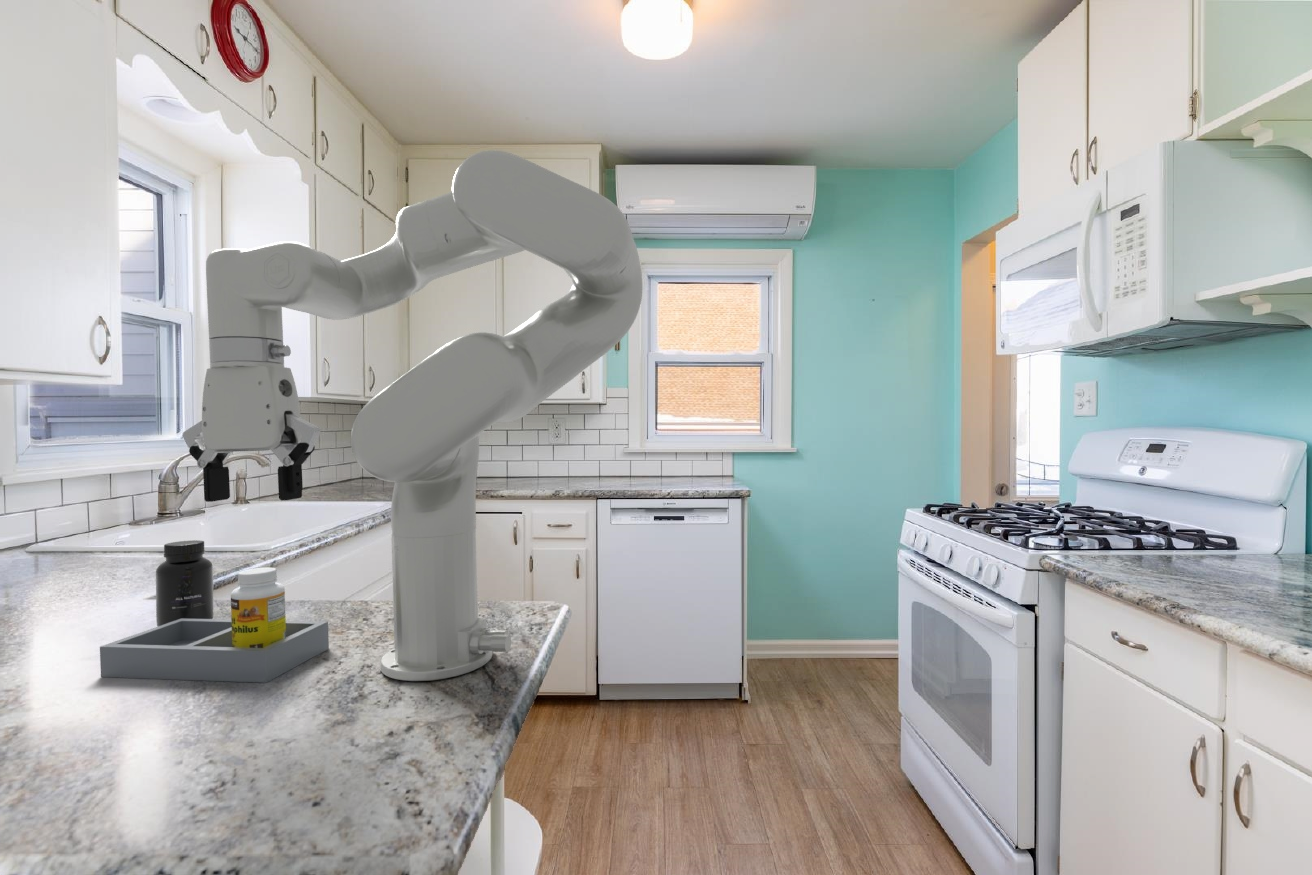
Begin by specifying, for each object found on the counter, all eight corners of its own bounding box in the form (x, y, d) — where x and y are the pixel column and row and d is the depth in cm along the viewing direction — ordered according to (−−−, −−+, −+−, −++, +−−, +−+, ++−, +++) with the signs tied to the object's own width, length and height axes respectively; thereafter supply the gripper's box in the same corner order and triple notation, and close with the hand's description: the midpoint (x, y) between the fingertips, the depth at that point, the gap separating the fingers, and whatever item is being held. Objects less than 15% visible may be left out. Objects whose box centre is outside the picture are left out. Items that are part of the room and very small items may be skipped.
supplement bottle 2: (221, 661, 77) (218, 574, 77) (262, 645, 82) (259, 564, 82) (257, 665, 75) (254, 576, 75) (297, 649, 81) (294, 566, 80)
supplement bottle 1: (184, 632, 92) (181, 547, 92) (144, 630, 93) (141, 546, 93) (225, 618, 99) (223, 538, 98) (188, 616, 100) (185, 538, 100)
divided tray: (328, 648, 84) (327, 621, 83) (266, 682, 73) (265, 651, 73) (182, 644, 86) (181, 618, 86) (100, 676, 76) (99, 646, 75)
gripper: (334, 356, 81) (339, 495, 81) (208, 362, 83) (214, 497, 83) (292, 350, 73) (298, 502, 74) (155, 357, 76) (162, 504, 76)
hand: (253, 499), depth 78 cm, fingers open, 9 cm apart
